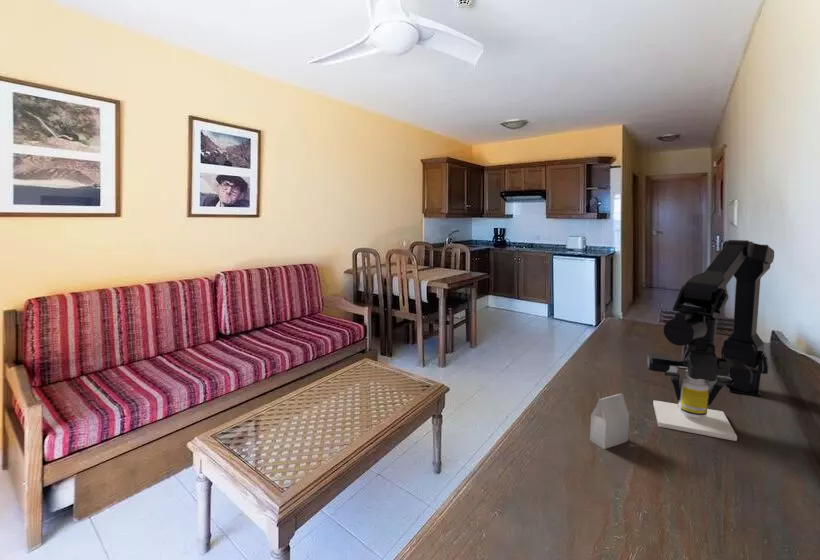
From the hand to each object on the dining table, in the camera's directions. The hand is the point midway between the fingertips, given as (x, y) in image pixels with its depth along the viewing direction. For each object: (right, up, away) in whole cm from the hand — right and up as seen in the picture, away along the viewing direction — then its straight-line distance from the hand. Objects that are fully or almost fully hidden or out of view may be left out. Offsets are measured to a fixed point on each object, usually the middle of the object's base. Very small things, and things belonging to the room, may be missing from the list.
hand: (693, 402), depth 90 cm
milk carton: (-23, -6, -7) cm, 25 cm away
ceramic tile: (0, -5, +1) cm, 5 cm away
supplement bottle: (0, -3, 0) cm, 3 cm away
